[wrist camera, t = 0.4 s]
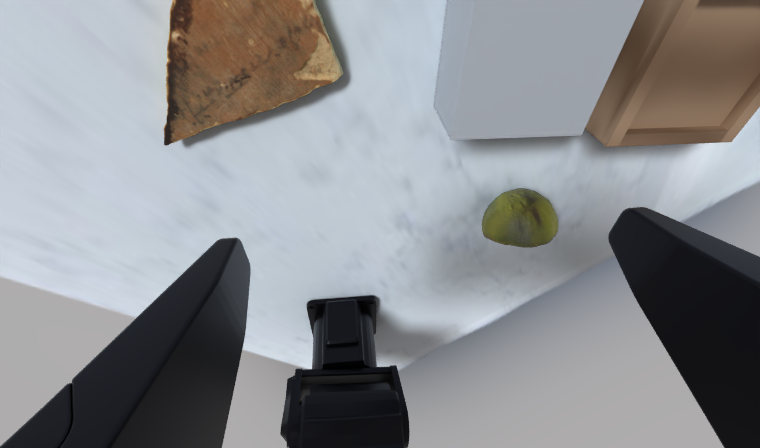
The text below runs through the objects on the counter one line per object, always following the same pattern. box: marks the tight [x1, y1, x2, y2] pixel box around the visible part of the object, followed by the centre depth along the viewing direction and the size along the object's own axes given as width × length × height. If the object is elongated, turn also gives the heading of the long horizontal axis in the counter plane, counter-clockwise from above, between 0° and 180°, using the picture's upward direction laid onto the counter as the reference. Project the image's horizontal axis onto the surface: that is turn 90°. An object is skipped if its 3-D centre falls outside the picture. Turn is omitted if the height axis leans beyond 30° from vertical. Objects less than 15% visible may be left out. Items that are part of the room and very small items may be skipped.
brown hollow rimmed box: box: [585, 0, 760, 147], centre depth 18 cm, size 8×8×4 cm
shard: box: [164, 0, 343, 145], centre depth 16 cm, size 11×8×2 cm
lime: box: [482, 189, 558, 247], centre depth 24 cm, size 4×5×5 cm
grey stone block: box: [434, 0, 644, 140], centre depth 16 cm, size 7×7×4 cm
